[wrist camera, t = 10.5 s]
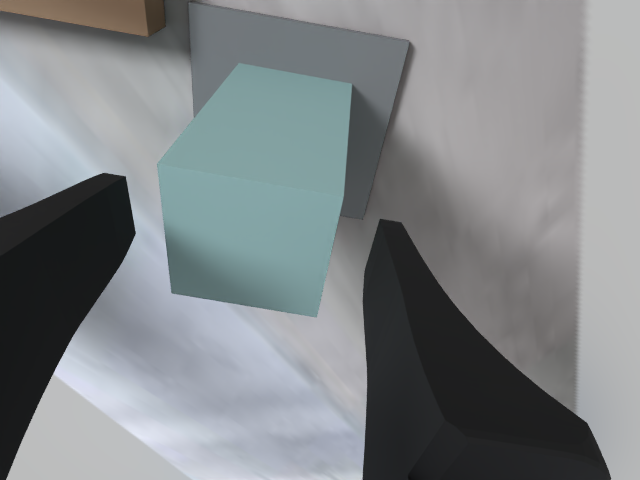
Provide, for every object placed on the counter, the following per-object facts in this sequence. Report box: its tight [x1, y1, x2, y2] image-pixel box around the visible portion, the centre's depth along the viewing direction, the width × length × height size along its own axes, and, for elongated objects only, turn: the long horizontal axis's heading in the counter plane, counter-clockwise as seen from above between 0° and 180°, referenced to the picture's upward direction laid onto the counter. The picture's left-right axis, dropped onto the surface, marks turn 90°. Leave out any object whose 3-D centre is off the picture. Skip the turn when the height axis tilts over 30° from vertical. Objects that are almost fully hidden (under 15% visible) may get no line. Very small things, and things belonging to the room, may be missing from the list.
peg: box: [157, 63, 352, 317], centre depth 14 cm, size 4×4×8 cm
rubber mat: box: [188, 1, 410, 220], centre depth 17 cm, size 8×8×1 cm
